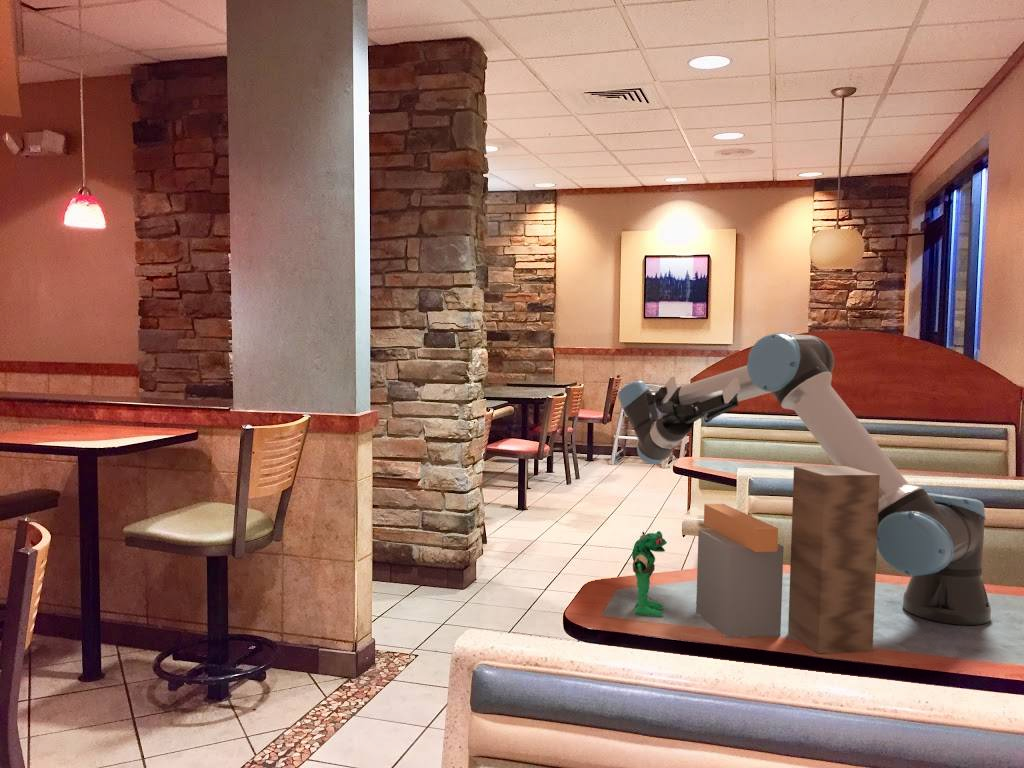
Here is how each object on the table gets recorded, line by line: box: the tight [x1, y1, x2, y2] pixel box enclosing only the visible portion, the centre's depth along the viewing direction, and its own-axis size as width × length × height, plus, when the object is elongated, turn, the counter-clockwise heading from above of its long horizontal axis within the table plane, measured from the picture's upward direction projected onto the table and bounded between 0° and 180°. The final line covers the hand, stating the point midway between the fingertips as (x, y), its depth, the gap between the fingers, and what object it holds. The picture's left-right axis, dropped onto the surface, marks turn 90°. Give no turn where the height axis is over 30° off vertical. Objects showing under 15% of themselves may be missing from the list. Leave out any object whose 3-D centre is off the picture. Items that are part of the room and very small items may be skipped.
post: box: [787, 465, 880, 655], centre depth 142 cm, size 10×10×30 cm
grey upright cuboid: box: [695, 528, 785, 639], centre depth 151 cm, size 10×14×16 cm
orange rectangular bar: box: [703, 503, 779, 552], centre depth 151 cm, size 4×22×4 cm, turn 10°
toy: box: [631, 530, 668, 618], centre depth 158 cm, size 26×6×15 cm, turn 168°
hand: (706, 382), depth 166 cm, fingers open, 13 cm apart
